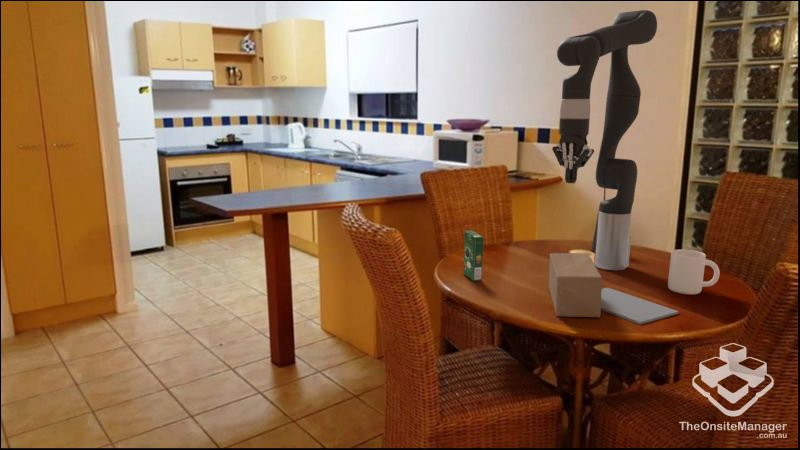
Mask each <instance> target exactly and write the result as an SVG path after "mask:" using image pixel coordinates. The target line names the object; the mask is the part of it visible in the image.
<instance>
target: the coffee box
mask: <svg viewBox="0 0 800 450" xmlns="http://www.w3.org/2000/svg"><path fill="white" fill-rule="evenodd" d="M484 238H485V237H484V236H482V235H481V234H479V233H477V232H476V231H474V230H465V231H464V241H463V242H464V244H463V245H464V246H463V248H464V249H463V270H462V271H463V273H462V274H463V275H464V276H466V277H467V278H469V279H470V280H471V281H472V282H481V281H482V278H483V277H482V276H483V275H482V274H483V259H484V258H483V257H484V241H485V239H484Z"/></svg>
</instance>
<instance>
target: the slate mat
mask: <svg viewBox="0 0 800 450" xmlns="http://www.w3.org/2000/svg"><path fill="white" fill-rule="evenodd" d="M601 311H603V312H606V313H609V314H612V315H614V316H617V317H618V318H621V319H624V320H627V321H629V322H632V323H634V324H637V325H643V324H647V323H651V322H654V321H657V320H662V319H665V318H668V317H671V316H676V315H678V314H679V313H680V312H679V310H676V309H673V308H671V307H667V306H664V305H661V304H659V303H655V302H652V301H649V300H646V299H643V298H640V297H638V296H634V295H632V294H628V293H625V292H622V291H618V290H617V289H613V288H611V287H604V288H602V291H601Z"/></svg>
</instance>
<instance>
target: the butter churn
mask: <svg viewBox="0 0 800 450" xmlns="http://www.w3.org/2000/svg"><path fill="white" fill-rule="evenodd" d="M606 189H607V188H603V201H604V200H606ZM596 216H597V217H596V222H595V227H594V233H593V238H592V243H591V248H590V251H591V250H592V252H593V251H594V253H596V243H597V230H598V217H599V210H597V215H596Z"/></svg>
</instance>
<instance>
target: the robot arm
mask: <svg viewBox="0 0 800 450" xmlns="http://www.w3.org/2000/svg"><path fill="white" fill-rule="evenodd" d="M657 30H658V21H657V16H656V15H655V12H654V11H653V12H652V11H651V10H647V9H645V10H644V9H643V10H641V9H640V10H633V11H631V10H630V11H625V12H620V13H618V14H617V15H616V16H615V18H614V20H613V24H611V25H608V26H603V27H601V28H598V29H594V30H592V31H590V32H588V33H583V34H579V35H574V36H570V37H569V36H568V37H567V38H564V39H563V40H562V41H561V42H560V43H559V45H558V46H557V51H556V56H557V59H558V61H559V63H561V64H562V65H564V66H567V67H578V70H576V71H577V72H575V73H574V74H571V75H568V76H566V77H564V79H563V81H562V89H561V91H562V92H561V102H560V108H559V124H558V134H559V136H560V138H559V141H558V144H557V145H556V146H552V152H553V153H554V157H555V158H556V159H557V162H558V164H559V165H560V166H561V167H563V168H564V169H565V170H564V171H565V173H564V180H565V183H567V184H575V183H576V182H577V180H578V169H580V168H584V167H585V166H586V164H587V163H588V161H589V160H590V159H591V157H592V156H593V155H594V153H595V150H594V148H590V147H589V146H588V140H587V139H588V138H587V137H588V136H589V132H590V131H589V130H590V120H591V119H590V118H591V89H592V88H591V87H592V81H593V79H594V76H595V72H596V69H597V66H598V63H599V60H600V58H602V57H604V56H605V55H609V54H610V72H609V79H608V88H607V93H606V94H607V95H606V101H605V103H606V104H605V115H604V121H603V122H604V124H603V132H602V138H601V143H600V148H599V153H598V159H597V163H596V169H595V182H596V185H597V186H598V187H599V188H602V189H604V188H606V189H607V190H608V189H610V190H616V191H617V192H616V196H614V197H613V198H612V197H611V198H609V199H605V200H604V199H603V200H602V201H600V202H599V204H598V206H599V207H598V211H599V217H598V230H597V243H596V252H595V257H594V265H595V266H596V268H599V269H602V270H609V271H623V270H626V269H627V268H628V267H629V265H630V264H629V263H630V255H631V254H630V252H631V241H632V236H630V231H631V223H632V221H631V220H632V209H633V205H634V201H635V192H636V185H637V179H638V166H637V163H636V162H635V160H632V159H628V158H616V153H617V148H618V146H619V143H620V141H621V139H622V138H623V136H624V135H625V134H626V132H627V131H628V130H629V129H630V127H632V124H634V122H635V121H636V119H637V117H638V115H639V111H640V102H641V94H642V92H641V87H640V85H639V82H638V80H637V78H636V76H635V74H634V72H633V71H632V69H631V66H630V64H629V57H628V56H629V54H628V50H629V46H631V45H632V46H635V45H643V44H647V43H649V42H650V41H652V40H654V37H655V36H656V33H657Z"/></svg>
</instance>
